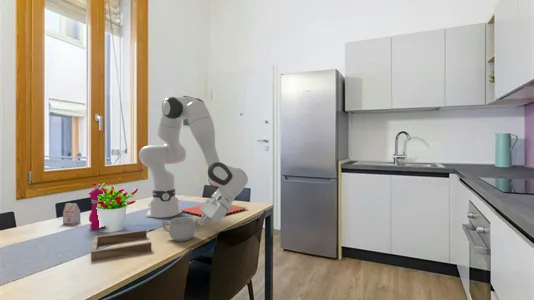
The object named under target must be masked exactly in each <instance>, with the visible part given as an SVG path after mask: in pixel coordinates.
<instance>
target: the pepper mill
mask: <svg viewBox="0 0 534 300" xmlns="http://www.w3.org/2000/svg"><path fill="white" fill-rule="evenodd" d="M103 191H104V190H103V189H101V188H100V186H99V185H95V186H94V189H92V190H91V191H90V193H89V197H90V200H91V202H90V203H91V204H92V207H91V208H92V209H91V211H90V214H89V217H88V221H89V223H91V224H90V225H89V227H90V228H89V229H91V230H100V229H99V220H98V215H97V209H96V207H97V196H98V195H99V194H103Z"/></svg>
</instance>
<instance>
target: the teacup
mask: <svg viewBox="0 0 534 300" xmlns="http://www.w3.org/2000/svg"><path fill="white" fill-rule="evenodd" d="M166 224H168V227H167V226H166ZM162 228H163V230H165V231H166V232H167V233H168V234H169V236H170V238H171V239H172V240H174V241H175V242H186V241H187V242H188V241H189V240H191V238H193V237H194V236H195V234H196V218H194V217H191V216H181V217H175V218H172V219H171V220H165V221H163V223H162Z"/></svg>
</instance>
